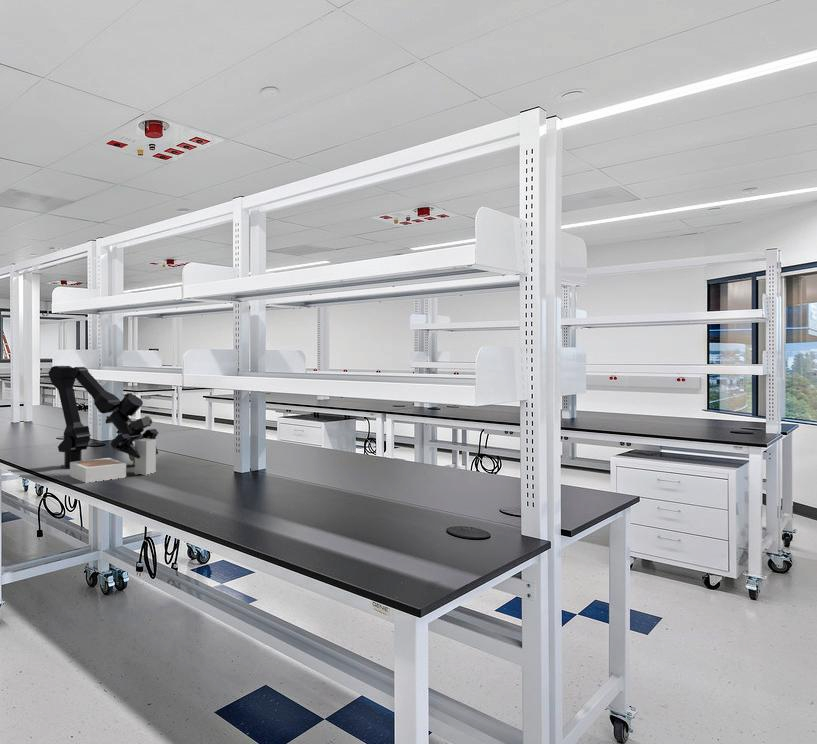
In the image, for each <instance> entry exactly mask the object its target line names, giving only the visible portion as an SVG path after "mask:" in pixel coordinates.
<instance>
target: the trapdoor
mask: <svg viewBox="0 0 817 744" xmlns="http://www.w3.org/2000/svg"><path fill="white" fill-rule="evenodd" d="M100 459H101V460H94V459H91V460H92V461H85V460H82V461H83V462H77V463H78V464H81V465H84V466H86V467H96V466H104V465H113V464H120V463H117V462H114V461H111V460H108V459H103V458H100Z"/></svg>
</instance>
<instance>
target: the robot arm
mask: <svg viewBox="0 0 817 744" xmlns="http://www.w3.org/2000/svg"><path fill="white" fill-rule="evenodd" d="M48 377H49V379H50V383H51V384H52V385H53V387H54V388H56V389H57V391H58V396H59V400H60V404H61V408H62V414H63V417H64V422H65V425H66V426H65V429H64V431H63V439H62V441H61V442H60V443H59V445H58V446H57V449H58V452H59V453H64V454H63V456H64V458H63V459H64V464H60V467H62V468H65V469H70V462H75V461H83V460H82V459H83V458H82V456H83V455H82V451H83V450H84V451H85V450H87V449H88V445H89V443H90V441H91V436H92V435H91V433H90V428H89V427H90V426H89V425H84V424H83V422H81V418H80V412H79V409H78V408H79V407H78V404H77V400H76V395H75V391H74V385H75V382H76V381H77V382H78V383H79V384H80V385H81V386H82V387H83V389H85V391H86V392H87V393H88V394H89V396H91V397H92V399H93V400H94V401H93V405H94V406H95V407H96V409H97V410H98V412H99V413H101V414H110V415H106V418H105V424H113V425H114V427H115V428H116V432H115V433H116V434H117V435H116V436H115V437H114V438H113V440H111V442H110V447H111V448H112V449H113V451H115V450H116V451H119V452H122V453H125V454H127V455H128V454H129V455H131V456H133V457H135V458H138V459H139V458H140V455H139V453H138V451H137V450H136V448H135V447H134V446H135V444H134V443H133V442H135V440H139V439H144V438H146V439H156V438H157V437H158V435H159V431H158V430H157V429H156V428H149V429H146V430H145V428H147V427H151V425H152V424H153V420H152V418H151V417H150V416H149V415H147V416H144V417H141V418H138V419H136V420H132V419H131V418H130V417H133V416H134V415H135V414H136V413H137V412H138V411H139V409H140V408H141V407H142V406H143V404H144V402H143V399H141V398H140V397H139V396H137V395H136V394H135V395H134V394H133V393H132V392H129V393H126V394H125V396H124V397H123V398H122V399H121V400H120V398H119V397H117V396H116V395H115V394H113V393H111V392H108V391H107V390H106V389H105V388H104V387H103V386H102V385H101V384H100V383H99V382H98V380H97V379H96V378H95V377H94V376H93V375H92V374H91V373H90V372H89V369H88V368H87V367H85V366H74V367H72V366H70V365H53V366H51V368H50V369H49V371H48ZM158 454H159V451H158V448H157V446H156V456H157V455H158ZM129 455H128V456H129Z"/></svg>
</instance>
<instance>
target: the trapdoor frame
mask: <svg viewBox="0 0 817 744" xmlns="http://www.w3.org/2000/svg"><path fill="white" fill-rule="evenodd" d="M101 459H108V460H111V461H114V462H117V463H120V464H113V465H104V466H96V467H86V466H84V465H81V464H78V463H77V462H83V461H92V460H101ZM69 477H70V478H73V479H76V480H78V481H80V482H83V483H84V482H85V484H88V483H89V482H90V483H96V482H95V481H97V482H102V481H103V480H104V481H111V480H110V479H112V480H118V478H119V479H125V477H126V478H127V463H125V462H122V461H119V460H117V459H114V458H111V457H106V458H105V457H103V458H95V459H87V460H82V461H75V462H70V468H69ZM104 481H103V482H104ZM90 483H89V484H90Z"/></svg>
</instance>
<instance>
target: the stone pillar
mask: <svg viewBox="0 0 817 744" xmlns="http://www.w3.org/2000/svg"><path fill="white" fill-rule="evenodd" d="M134 446H135V448H136V450H137V451H138V453H139V455H140V458H139V459H138V458H135V466H134V475H137V474H142V475H141V476H148V475H147V474H149V475H151V474H150V473H153V474H155V473H154V472H156V473H157V466H156V465H157V455H156V447H157V439H156V438H155V439H146V438H144V439H139V440H135V441H134Z"/></svg>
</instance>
